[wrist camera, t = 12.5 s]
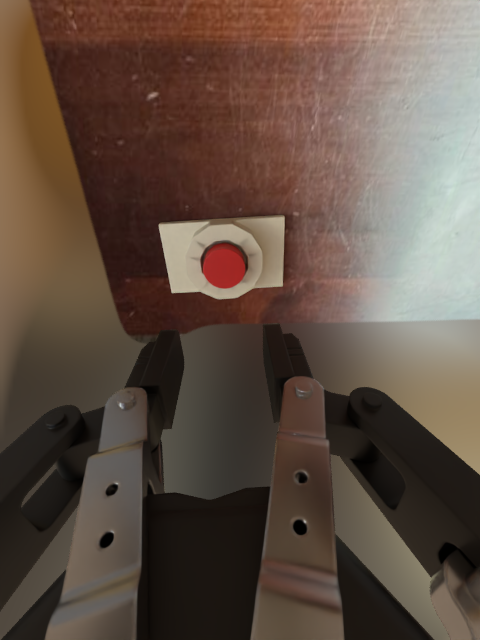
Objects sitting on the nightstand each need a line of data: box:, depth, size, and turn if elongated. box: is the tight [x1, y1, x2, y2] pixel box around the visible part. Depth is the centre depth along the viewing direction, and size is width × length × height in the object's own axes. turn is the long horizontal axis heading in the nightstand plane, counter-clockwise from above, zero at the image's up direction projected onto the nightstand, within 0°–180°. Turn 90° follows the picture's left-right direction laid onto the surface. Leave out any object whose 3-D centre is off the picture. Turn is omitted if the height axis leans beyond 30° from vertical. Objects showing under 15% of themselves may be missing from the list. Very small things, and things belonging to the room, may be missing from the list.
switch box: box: [159, 215, 285, 299], centre depth 23 cm, size 10×6×2 cm, turn 93°
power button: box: [203, 243, 245, 289], centre depth 22 cm, size 3×3×2 cm
